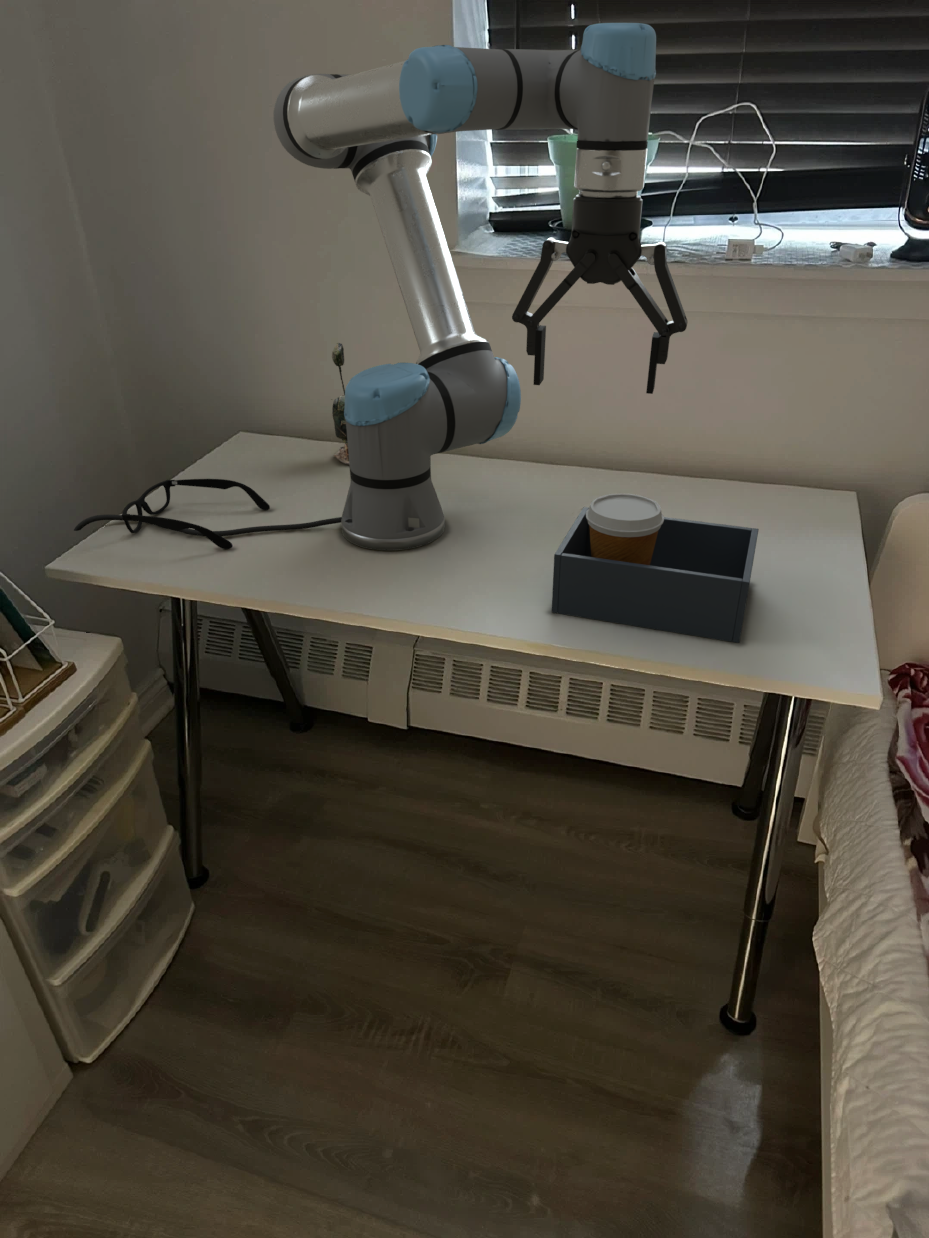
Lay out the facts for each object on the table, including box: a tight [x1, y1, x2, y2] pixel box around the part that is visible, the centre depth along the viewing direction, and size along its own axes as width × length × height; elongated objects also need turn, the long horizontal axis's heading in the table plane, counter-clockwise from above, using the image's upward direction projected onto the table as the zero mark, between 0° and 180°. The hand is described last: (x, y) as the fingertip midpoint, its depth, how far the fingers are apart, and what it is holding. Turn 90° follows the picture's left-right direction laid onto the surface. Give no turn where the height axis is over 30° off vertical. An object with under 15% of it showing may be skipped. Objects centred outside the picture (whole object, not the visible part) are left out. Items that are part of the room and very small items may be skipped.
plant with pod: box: [330, 342, 349, 465], centre depth 154 cm, size 8×11×20 cm
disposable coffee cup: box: [586, 492, 665, 565], centre depth 111 cm, size 10×10×12 cm
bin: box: [551, 506, 759, 644], centre depth 111 cm, size 23×16×8 cm
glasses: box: [121, 478, 271, 550], centre depth 133 cm, size 17×18×5 cm
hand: (593, 386), depth 108 cm, fingers open, 13 cm apart
